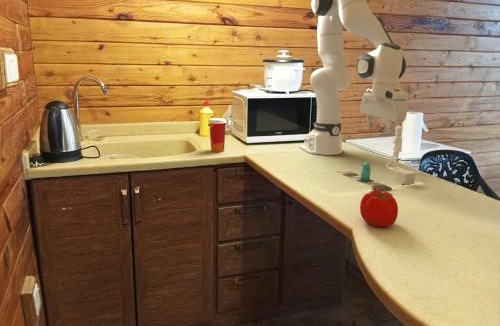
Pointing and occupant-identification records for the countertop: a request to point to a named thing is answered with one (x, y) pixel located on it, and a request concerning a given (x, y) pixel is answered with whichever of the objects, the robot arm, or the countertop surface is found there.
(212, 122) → the coffee cup
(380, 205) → the tomato
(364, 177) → the pawn
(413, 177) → the beige cube
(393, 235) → the countertop surface
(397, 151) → the figurine
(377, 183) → the board
